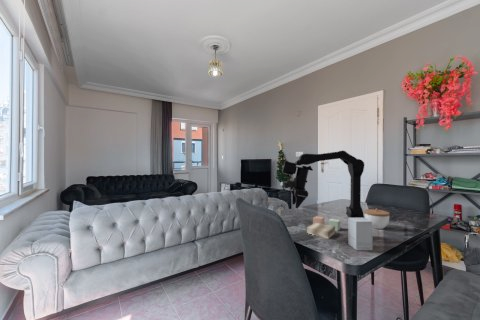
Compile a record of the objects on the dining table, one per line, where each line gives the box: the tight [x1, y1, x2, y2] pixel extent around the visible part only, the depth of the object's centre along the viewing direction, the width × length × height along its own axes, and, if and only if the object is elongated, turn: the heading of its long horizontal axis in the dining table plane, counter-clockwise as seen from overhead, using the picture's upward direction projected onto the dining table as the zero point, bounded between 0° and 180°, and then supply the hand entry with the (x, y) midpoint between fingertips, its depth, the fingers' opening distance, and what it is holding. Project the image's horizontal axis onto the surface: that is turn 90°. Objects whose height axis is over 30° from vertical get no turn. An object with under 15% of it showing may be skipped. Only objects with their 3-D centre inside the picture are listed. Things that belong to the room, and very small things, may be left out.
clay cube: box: [312, 215, 325, 225], centre depth 131 cm, size 5×5×5 cm
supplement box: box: [347, 217, 373, 251], centre depth 99 cm, size 7×7×13 cm
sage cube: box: [328, 218, 341, 232], centre depth 125 cm, size 5×5×5 cm
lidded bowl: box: [363, 207, 390, 230], centre depth 128 cm, size 13×13×11 cm
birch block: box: [306, 223, 336, 240], centre depth 117 cm, size 11×11×4 cm
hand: (294, 206), depth 115 cm, fingers open, 9 cm apart
